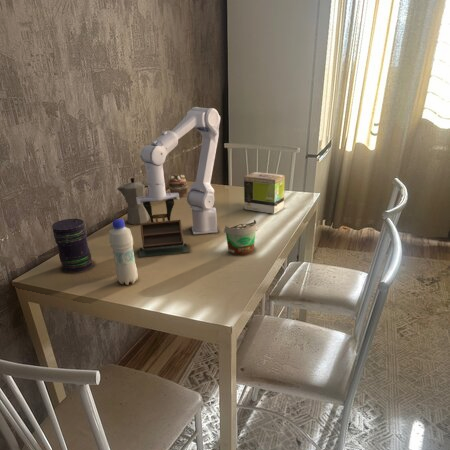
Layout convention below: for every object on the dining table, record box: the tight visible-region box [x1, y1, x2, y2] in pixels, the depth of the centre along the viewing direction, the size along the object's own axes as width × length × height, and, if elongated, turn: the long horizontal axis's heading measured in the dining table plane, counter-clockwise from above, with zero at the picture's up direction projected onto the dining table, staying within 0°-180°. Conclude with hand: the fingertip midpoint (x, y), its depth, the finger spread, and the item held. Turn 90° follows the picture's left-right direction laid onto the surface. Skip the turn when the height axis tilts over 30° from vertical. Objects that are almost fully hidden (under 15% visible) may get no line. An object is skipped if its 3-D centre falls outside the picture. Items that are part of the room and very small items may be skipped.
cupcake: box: [168, 173, 189, 198], centre depth 203 cm, size 10×10×10 cm
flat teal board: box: [138, 242, 190, 258], centre depth 147 cm, size 7×17×1 cm, turn 100°
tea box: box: [243, 171, 286, 215], centre depth 179 cm, size 15×10×15 cm
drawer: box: [139, 213, 184, 249], centre depth 146 cm, size 5×14×11 cm
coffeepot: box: [116, 177, 150, 225], centre depth 170 cm, size 15×9×18 cm, turn 113°
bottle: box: [108, 218, 139, 286], centre depth 123 cm, size 7×7×20 cm
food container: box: [223, 219, 259, 256], centre depth 141 cm, size 12×6×10 cm, turn 118°
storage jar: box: [51, 218, 94, 274], centre depth 134 cm, size 10×10×15 cm
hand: (160, 221), depth 146 cm, fingers closed on drawer, 5 cm apart
